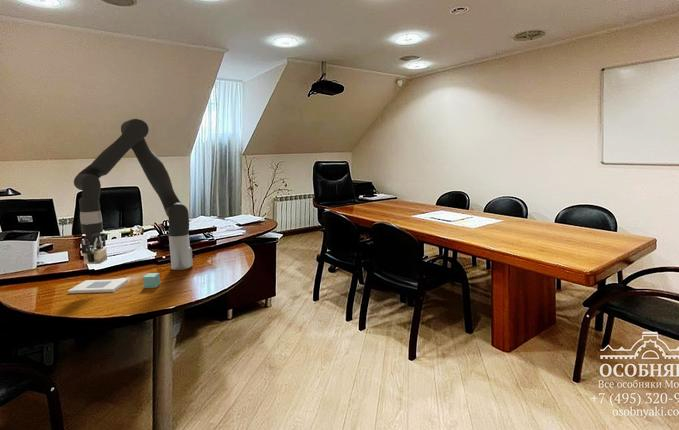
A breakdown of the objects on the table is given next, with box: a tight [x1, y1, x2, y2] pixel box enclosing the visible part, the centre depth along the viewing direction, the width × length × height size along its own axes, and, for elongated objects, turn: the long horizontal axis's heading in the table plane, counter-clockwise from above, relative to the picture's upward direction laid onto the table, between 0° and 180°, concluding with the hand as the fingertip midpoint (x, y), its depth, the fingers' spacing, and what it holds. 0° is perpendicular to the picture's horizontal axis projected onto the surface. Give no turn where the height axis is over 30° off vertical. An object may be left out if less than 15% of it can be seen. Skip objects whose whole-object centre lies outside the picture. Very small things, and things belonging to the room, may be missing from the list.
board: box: [67, 278, 129, 294], centre depth 157 cm, size 18×12×1 cm, turn 95°
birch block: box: [82, 248, 108, 265], centre depth 154 cm, size 6×6×5 cm
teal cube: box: [142, 272, 161, 289], centre depth 158 cm, size 5×5×5 cm
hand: (95, 259), depth 155 cm, fingers closed on birch block, 6 cm apart
